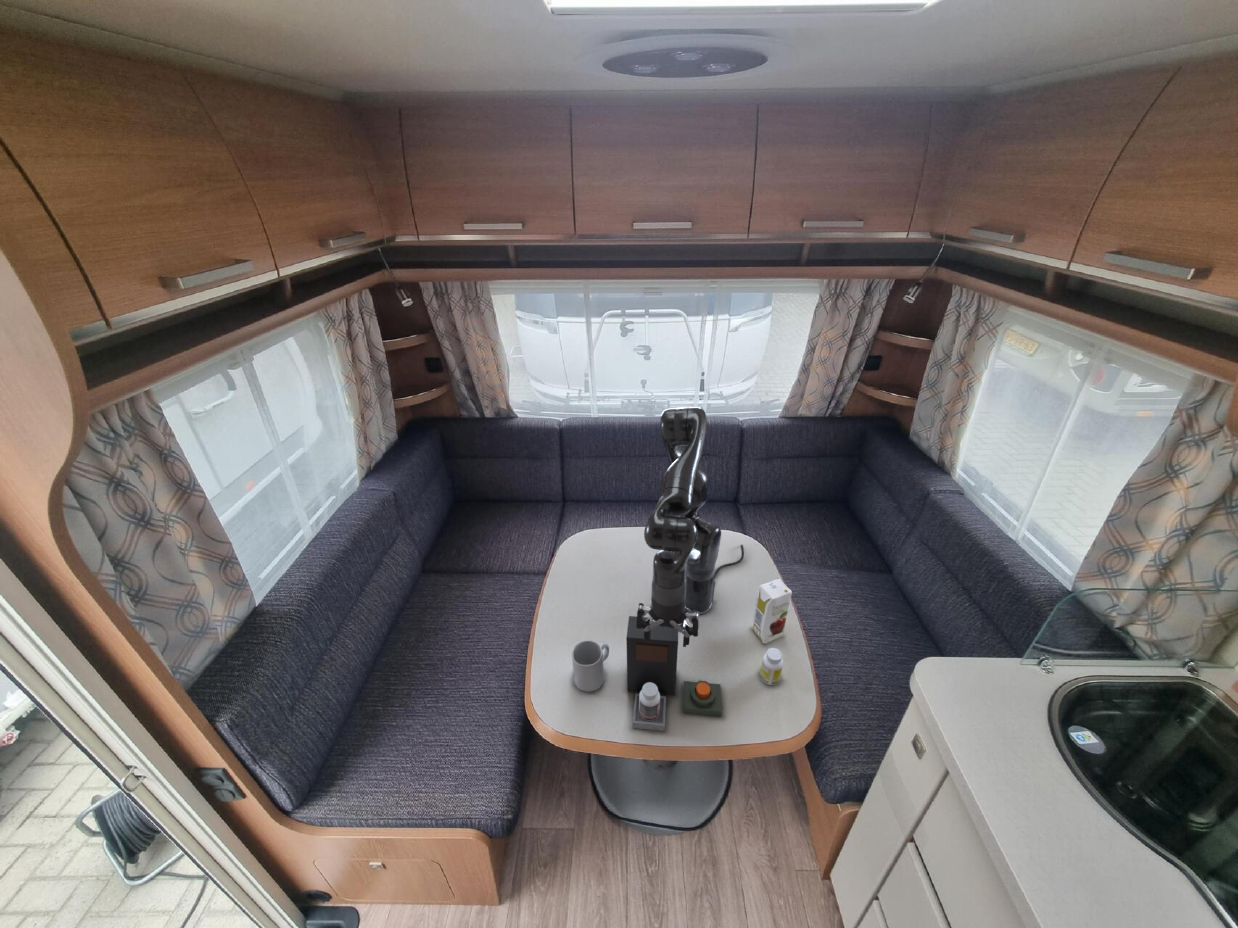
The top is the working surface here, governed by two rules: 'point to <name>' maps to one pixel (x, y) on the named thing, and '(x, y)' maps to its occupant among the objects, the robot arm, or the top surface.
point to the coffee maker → (651, 667)
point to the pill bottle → (649, 702)
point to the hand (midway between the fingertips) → (666, 641)
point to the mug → (589, 664)
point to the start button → (703, 690)
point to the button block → (700, 705)
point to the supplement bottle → (771, 666)
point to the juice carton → (771, 610)
